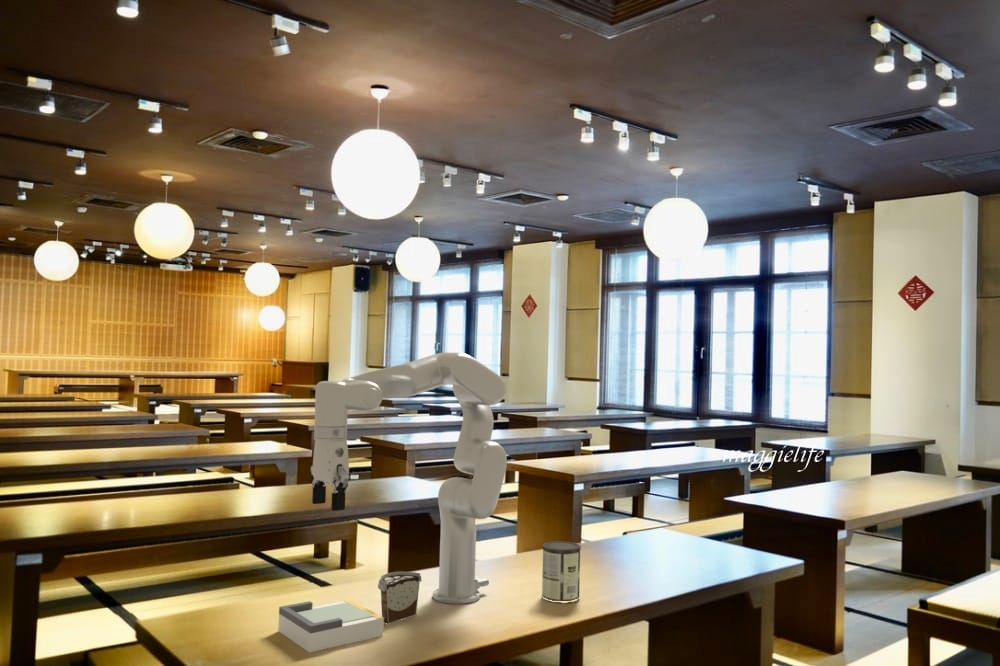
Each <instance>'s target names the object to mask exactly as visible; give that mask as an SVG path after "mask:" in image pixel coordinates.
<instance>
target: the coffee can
mask: <svg viewBox="0 0 1000 666" xmlns="http://www.w3.org/2000/svg"><path fill="white" fill-rule="evenodd" d="M581 548H582V547H581V545H580V544H578V543H576V542H571V541H563V540H561V541H560V540H553V541H548V542H544V543H543V544H542V584H541V587H542V589H541V590H542V591H541V597H542V596H543V597H544V598H546V599H548V600H552V601H572V600H575V599H578V598H580V584H581V583H580V575H581V573H580V571H581Z"/></svg>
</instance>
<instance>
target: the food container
mask: <svg viewBox="0 0 1000 666" xmlns="http://www.w3.org/2000/svg"><path fill="white" fill-rule="evenodd" d="M421 582H422V575H421V573H419V572H416V571H394V572H389V573H385V574H383V575H381V576H380V578H379V581H378V584H377V588H378V589H379V590H380V600H381V601H380V602H381V616H382V617H384V622H385V623H384V624H386V623H387V624H386V625H390V624H389V623H391V624H393V622H394V623H396V621H397V622H399V620H400V621H402V620H401V619H403V620H405V619H404V618H406V619H409V618H412V617H415V616H417V611H418V602H419V592H420V591H419V590H420V583H421ZM414 615H415V616H414ZM411 616H412V617H411ZM408 617H409V618H408Z"/></svg>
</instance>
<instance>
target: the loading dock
mask: <svg viewBox="0 0 1000 666" xmlns="http://www.w3.org/2000/svg"><path fill="white" fill-rule="evenodd" d="M313 604H314V603H313V602H312V601H310V600H309V601H305V602H298V603H293V604H288V605H287V604H286V605H281V606H278V607H279V609H278V628H277V629H278V632H279V633H280V634H282V635H284V636H285V637H286V638H288V639H289V640H290V641H292V642H293V643H295V644H296V645H298V646H299V647H300V648H302V649H303V650H305V651H306V652H308V653H309V654H311V653H314V652H318V651H323V649H324V650H328V649H332V648H336V647H340V646H344V644H345V645H348V644H353V642H354V643H357V641H358V642H362V641H365V640H366V639H367V640H371V639H375V638H380V637H383V636H384V624H385V623H384V617H382V615H380V614H378V613H376V612H374V611H372V610H370V609H368V608H366V607H365V606H362V605H361V604H359V603H357V602H355V601H353V600H351V599H346V600H343V601H338V602H333V603H327V604H321V605H318V606H313ZM361 640H362V641H361ZM327 648H328V649H327Z"/></svg>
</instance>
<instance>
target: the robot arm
mask: <svg viewBox="0 0 1000 666" xmlns="http://www.w3.org/2000/svg"><path fill="white" fill-rule="evenodd" d="M446 385H450V386H452V391H453V392H452V393H453V394H454V396H455V398H456V399H457V402H458V404H459V405H460V407H461V410H462V423H461V429H460V431H459V436H458V440H457V444H456V446H455V451H454V455H453V464H454V467H455V468H456V470H458V471H459V472H461V473H465V474H468V475H472V476H473V478H472V479H471V478H464V477H460V476H455V477H450V478H447V479H446V480H444V481H443V482H442V484H441V485H440V487H439V490H438V492H437V493H438V494H437V495H438V496H437V503H438V508H439V515H440V539H439V541H440V542H439V572H438V573H439V575H438V588H435V589H434V590H433V592H432V598H433V599H434V600H436V601H437V602H440V603H444V604H452V605H453V604H454V605H455V604H456V605H460V604H461V605H462V604H470V602H471V603H474V602H476V600H477V601H478V600H479V599H480V598H481V592H480V591H479V590H478V589H480V588H481V587H482V588H483V587H487V586H489V584H490V583H489V579H488V578H486V577H485V578H482V579H479V578H478V577H476V555H477V554H476V549H477V548H476V547H477V546H476V545H477V526H476V521H475V520H485V519H487V518H490V517H491V515H492V514H494V512H495V509H496V508H497V505H498V502H499V498H500V496H501V495H500V494H501V491H502V487H503V483H504V479H505V475H506V472H507V471H506V470H507V465H508V459H507V453H506V450H505V449H504V447H503V446H502V445H501V444H499V443H498V442H496V441H492V435H493V430H494V425H495V424H494V415H493V414H494V413H493V411H492V408H491V406H494V405H497V404H499V403H500V402H501V401H502V400H503V399H504V397H505V395H506V385H505V382H504V379H503V378H502V377H501V376H500V375H499V374H498V373H496V372H495V371H493V370H492V369H491V368H489V367H487V365H485V364H483V363H482V362H480V361H479V360H477V359H476V358H474V357H472V356H471V355H469V354H467V353H464V352H438V353H435V354H432V355H429V356H425V357H422V358H419V359H416V360H411V361H409V362H405V363H402V364H398V365H394V366H389V367H386V368H382V369H378V370H373V371H368V372H364V373H361V374H358V375H355V376H350V377H348V378H345V379H342V380H341V381H339V380H338V381H337V380H323V381H319V382H318V383H317V384H316V385H315V397H314V398H315V400H314V425H313V426H314V430H313V431H314V433H313V440H314V447H313V448H314V449H313V457H312V465H311V466H310V472H311V481H312V483H311V486H312V496H311V497H312V500H311V501H312V502H311V503H312V504H313V505H318V504H319V505H321V504H325V503H326V498H327V497H326V496H327V486H326V485H325V484H329V485H331V488H332V491H333V492H331V504H330V505H331V507H330V511H333V512H335V511H336V512H337V511H338V512H339V511H344V510H345V509H346V493H347V488H348V486H349V480H350V469H349V468H350V466H349V462H350V460H349V449H348V448H349V447H348V441H347V439H348V438H347V437H348V411H354V412H361V413H369V412H371V411H374V410H376V409H377V408H378V407H379V406H380V405H381V403H382V402H383V399H396V398H397V399H399V398H400V399H402V398H410V397H414V396H416V395H421V394H423V393H425V392H428V391H431V390H434V389H437V388H440V387H443V386H446ZM475 577H476V578H475Z"/></svg>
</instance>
